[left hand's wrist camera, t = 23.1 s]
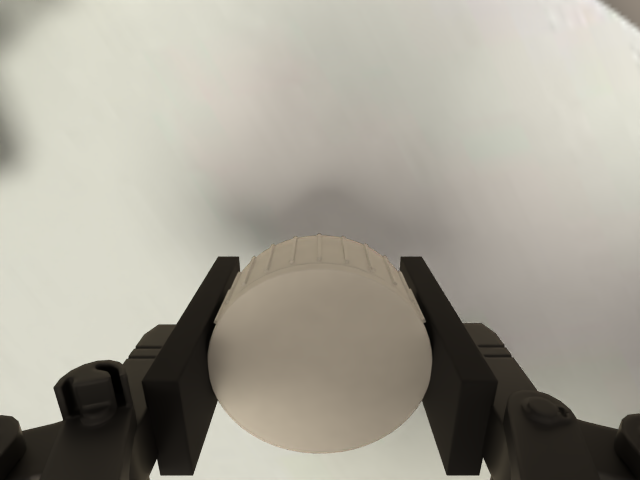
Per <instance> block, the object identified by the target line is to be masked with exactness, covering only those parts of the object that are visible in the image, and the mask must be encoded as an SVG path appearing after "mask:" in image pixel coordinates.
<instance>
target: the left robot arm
mask: <svg viewBox="0 0 640 480" xmlns="http://www.w3.org/2000/svg"><path fill="white" fill-rule="evenodd" d="M400 271H401V272H402V274H403V276H404V279H405V281H406V283H407V285H408V288H409V289H411V290H412V292H413V295H414V297H415V299H416V301H417V303H418V305H419V308H420V310H421V312H422V314H423V316H424V318H425V321H426V322H425V323H423V324H424V326H425V328H426V331H427V333H428V336H429V339H430V343H431V348H432V368H431V376H430V381H429V385H428V388H427V390H426V393H425V395H424V397H423V399H422V402H423V405H424V408H425V411H426V414H427V417H428V420H429V423H430V426H431V429H432V432H433V435H434V438H435V441H436V444H437V447H438V450H439V453H440V456H441V459H442V462H443V465H444V469H445V472H446V475H479V474H480V469H481V464H482V459H483V458H484V460H485V463H486V465H487V467H488V469H489V472H490V474H491V478H490V480H640V414H630V415H627V416H626V417H625V418H623V419H622V421H621V424H620V426H619V429H614V428H610V427H606V426H601V425H597V424H593V423H589V422H585V421H582V420H578V419H576V417H575V416H574V414H573V412H572V411H571V410H570V409H569V408H568V407H567V406H566V405H565V404H563V403H562V402H561V401H559V400H558V399H556V398H554V397H552V396H550V395H548V394H545V393H542V392H538V391H537V389H536V388H535V387H534V385H533V384H532V383H531V381H530V380H529V378H528V377H527V376H526V374H525V373H524V372H523V370H522V369H521V367H520V366H519V365H518V363H517V362H516V361H515V359H514V358H512V357H511V354H510V352H509V351H508V350H507V348H505V347H504V344H503V343H502V341H501V340H500V339H499V337H498V336H497V334H496V333H494V332H493V331H492V330H490V329H489V328H487V327H486V326H485V325H483V324H482V323H462V322H461V320H460V318H459V317H458V315H457V313H456V312H455V310H454V309H453V307H452V305H451V304H450V302H449V300H448V299H447V297H446V296H445V294H444V292H443V291H442V289H441V288H440V286H439V284H438V283H437V281H436V279H435V278H434V276H433V275H432V273H431V271H430V270H429V268H428V266H427V265H426V263H425V262H424V260H423V258H422V257H401V261H400ZM238 272H240V264H239V257H218V258H217V260H216V261H215V263H214V264H213V266H212V268H211V269H210V271H209V272H208V274H207V276H206V277H205V279H204V281H203V282H202V284H201V285H200V287H199V289H198V290H197V292H196V294H195V295H194V297H193V298H192V300H191V302H190V303H189V305H188V307H187V308H186V310H185V311H184V313H183V315H182V316H181V318H180V320H179V321H178V323H177V324H176V325H157V326H156V327H154V328H153V329H152V330H150V331H149V332H147V333H146V334H144V336H143V337H142V338H141V340H140V341H139V343H138V344H137V345H136V349H134V350H133V351H132V352H131V354H130V355H129V358H128V359H126V361H125V362H124V363H123V365H122V364H121V363H120V362H117V361H112V360H102V361H95V362H91V363H88V364H84V365H82V366H80V367H78V368H76V369H73V370H71V371H70V372H69V373H67V374H66V375H65V376H63V377H62V378H61V379H60V380H59V381H58V382H57V384H56V385H55V386H54V391H55V395H56V398H57V401H58V404H59V408H60V411H61V414H62V417H63V421H60V422H57V423H54V424H50V425H46V426H41V427H37V428H33V429H29V430H24V431H22V430H21V427H20V424H19V422H18V421H17V420H16V419H15V418H14V417H12V416H4V415H0V480H150V478H149V475H150V473H151V471H152V468H153V466H154V464H155V462H156V459H157V461H158V466H159V470H160V475H193V474H194V471H195V468H196V465H197V462H198V459H199V456H200V453H201V450H202V447H203V444H204V441H205V438H206V435H207V431H208V428H209V425H210V422H211V419H212V416H213V413H214V410H215V407H216V404H217V401H218V399H217V397H216V395H215V393H214V391H213V389H212V385H211V382H210V378H209V370H208V359H207V358H208V348H209V342H210V339H211V336H212V333H213V330H214V328H215V326H216V324H215V323H214V320H215V318H216V316H217V314H218V312H219V310H220V307H221V305H222V303H223V301H224V299H225V297H226V294H227V292H228V290H230V289H231V287H232V285H233V282H234V280H235V278H236V276H237V274H238Z"/></svg>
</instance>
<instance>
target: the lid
mask: <svg viewBox="0 0 640 480" xmlns="http://www.w3.org/2000/svg"><path fill="white" fill-rule="evenodd" d="M425 322H426V321H425V318H424V316H423V314H422V312H421V310H420V308H419V305H418V303H417V301H416V299H415V297H414V295H413V292H412V290H411V289H409V288H408V285H407V283H406V281H405V279H404V276H403V274H402V272H401V271H399V272H398V271H397V270H396V269H395V268H394V266H393V265H392V264H391V263H390V262H389V261H388V258H387V257H386V256H385V255H384V256H381V255H380V254H379V253H377V252H376V251H375V250H373V249H371V248H369V247H368V245H367V244H364V245H363V244H361V243H358V242H355V241H353V240H349V239H346V238H345V237H344V236H342V237H335V236H326V235H321V234H318V235H317V236H305V237H298V238H297V236H295V237H293V239H291V240H287V241H284V242H282V243H279V244H277V245H275V244H272V245H271V247H270V248H269V249H267V250H266V251H264V252H262V253H261V254H260V255H258V256H257V257H255V256H254V257H252V259H251V262H250V263H249V264H248V265H247V266H246V267H245V268H244V270H243V271H242V272H238V274H237V276H236V278H235V280H234V282H233V285H232V287H231V289H230V290H228V292H227V294H226V297H225V299H224V301H223V303H222V305H221V307H220V310H219V312H218V314H217V316H216V318H215V320H214V323H215V324H216V326H215V328H214V330H213V333H212V336H211V339H210V342H209V348H208V358H207V359H208V370H209V378H210V382H211V385H212V389H213V391H214V393H215V395H216V397H217V399H218V401H219V403H220V404H221V406H222V407H223V409H224V410H225V411H226V412H227V414H228V415H229V416H230V417H231V418H232V419H233V420H234V421H235V422H236V423H237V424H238V425H239V426H241V427H242V428H243V429H244V430H246V431H247V432H249V433H250V434H252V435H253V436H255V437H257V438H259V439H261V440H262V441H265V442H267V443H269V444H272V445H274V446H277V447H281V448H284V449H287V450H292V451H298V452H305V453H335V452H343V451H347V450H352V449H356V448H359V447H362V446H366V445H368V444H370V443H373V442H375V441H377V440H379V439H381V438H383V437H385V436H386V435H388V434H390V433H391V432H393V431H394V430H395V429H397V428H398V427H399V426H401V425H402V424H403V423H404V422H405V421H406V420H407V419H408V418H409V417H410V416H411V415H412V413H413V412H414V411H415V410H416V409H417V407H418V405H419V404H420V402H421V401H422V399H423V397H424V395H425V393H426V390H427V388H428V385H429V381H430V376H431V368H432V348H431V343H430V339H429V336H428V333H427V331H426V328H425V326H424V324H423V323H425Z"/></svg>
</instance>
